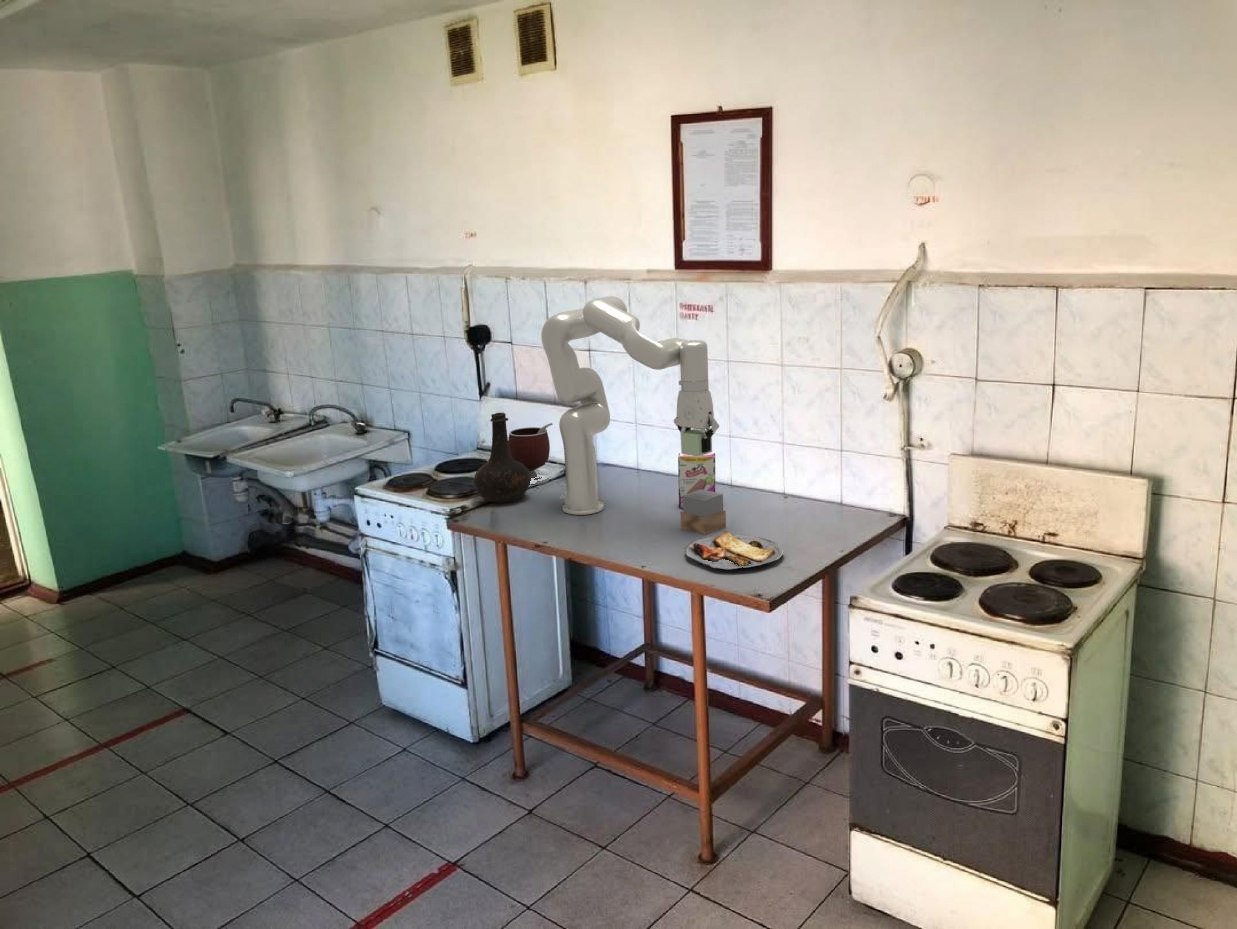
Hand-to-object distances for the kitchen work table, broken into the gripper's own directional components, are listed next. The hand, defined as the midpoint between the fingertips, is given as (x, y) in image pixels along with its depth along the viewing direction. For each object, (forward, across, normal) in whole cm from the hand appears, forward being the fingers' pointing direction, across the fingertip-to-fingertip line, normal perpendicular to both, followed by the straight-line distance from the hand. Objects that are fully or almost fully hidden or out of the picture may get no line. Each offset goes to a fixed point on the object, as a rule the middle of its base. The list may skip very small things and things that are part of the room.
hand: (696, 449), depth 277 cm
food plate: (+24, +22, -13) cm, 34 cm away
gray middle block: (+18, +1, +1) cm, 18 cm away
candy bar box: (+23, -14, +16) cm, 31 cm away
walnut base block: (+23, 0, +1) cm, 23 cm away
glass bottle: (+23, -69, -14) cm, 74 cm away
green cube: (+1, 0, 0) cm, 1 cm away
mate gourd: (+22, -79, +7) cm, 82 cm away
